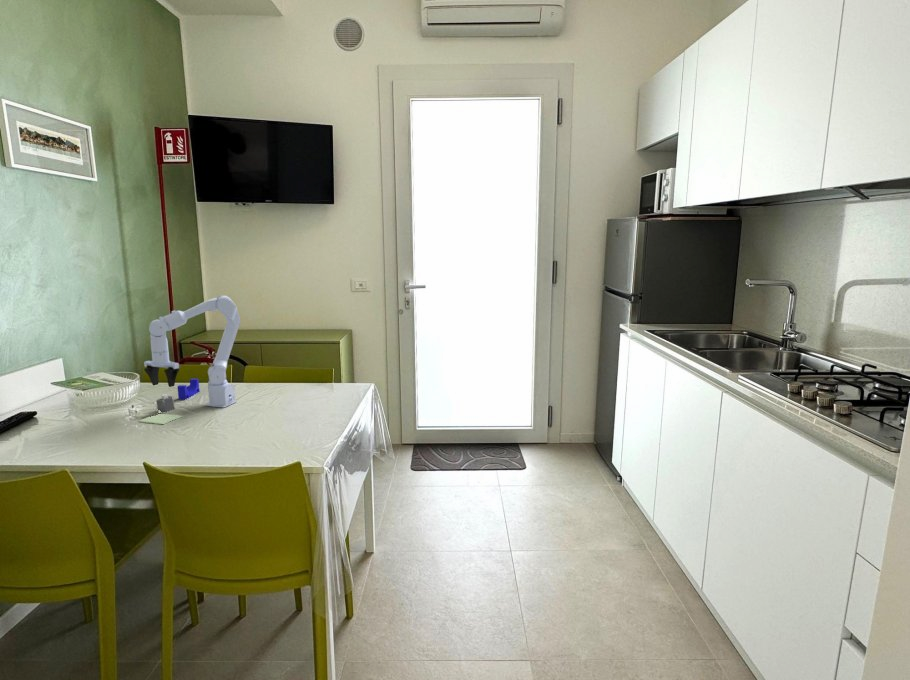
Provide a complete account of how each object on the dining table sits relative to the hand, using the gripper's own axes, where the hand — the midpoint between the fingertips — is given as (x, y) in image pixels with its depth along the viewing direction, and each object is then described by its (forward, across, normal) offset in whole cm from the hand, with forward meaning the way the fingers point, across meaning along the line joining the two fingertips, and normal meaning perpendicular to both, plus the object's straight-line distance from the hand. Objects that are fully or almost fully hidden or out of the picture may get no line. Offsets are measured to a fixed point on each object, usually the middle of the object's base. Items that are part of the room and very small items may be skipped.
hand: (163, 385), depth 207 cm
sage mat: (+10, +6, -9) cm, 15 cm away
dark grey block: (+10, 0, 0) cm, 10 cm away
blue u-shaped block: (+11, -7, +19) cm, 23 cm away
